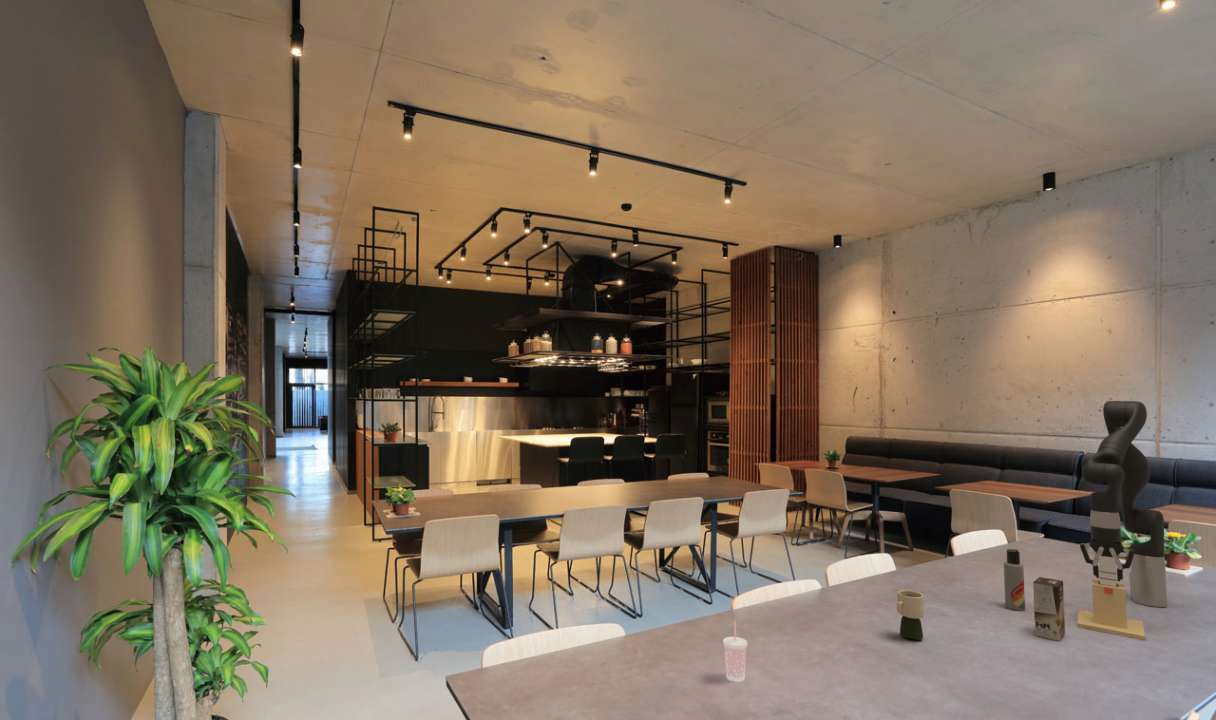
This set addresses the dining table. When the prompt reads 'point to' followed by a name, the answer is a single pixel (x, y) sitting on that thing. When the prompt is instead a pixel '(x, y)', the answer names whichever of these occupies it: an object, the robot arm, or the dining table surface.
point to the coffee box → (1049, 608)
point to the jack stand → (1110, 612)
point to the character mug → (910, 613)
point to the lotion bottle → (1014, 581)
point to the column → (1107, 571)
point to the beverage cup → (735, 657)
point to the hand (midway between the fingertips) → (1108, 578)
